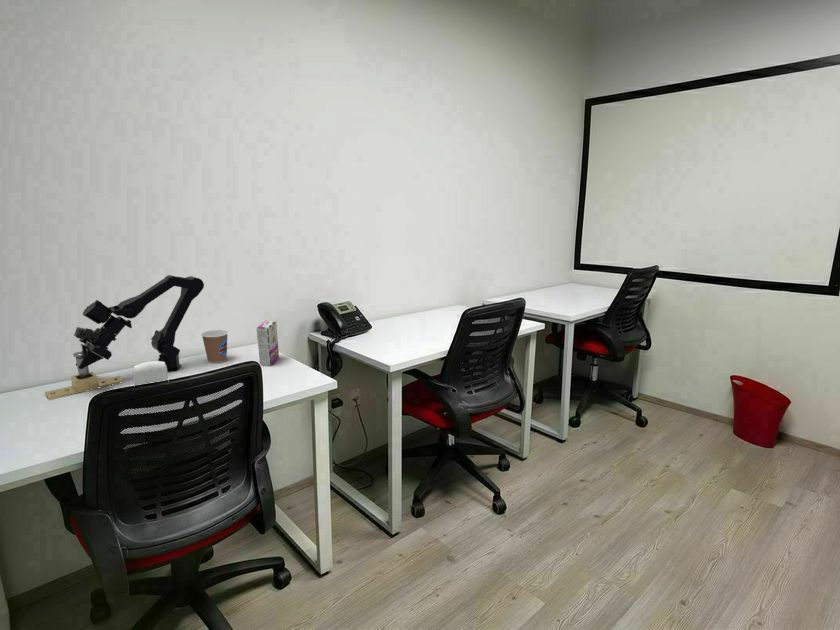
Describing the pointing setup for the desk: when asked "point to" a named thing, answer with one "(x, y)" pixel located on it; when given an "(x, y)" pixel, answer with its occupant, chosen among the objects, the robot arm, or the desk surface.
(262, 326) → the candy bar box
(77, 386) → the brass socket plate
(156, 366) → the photo printer
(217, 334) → the coffee cup
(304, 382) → the desk surface
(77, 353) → the hinge pin
